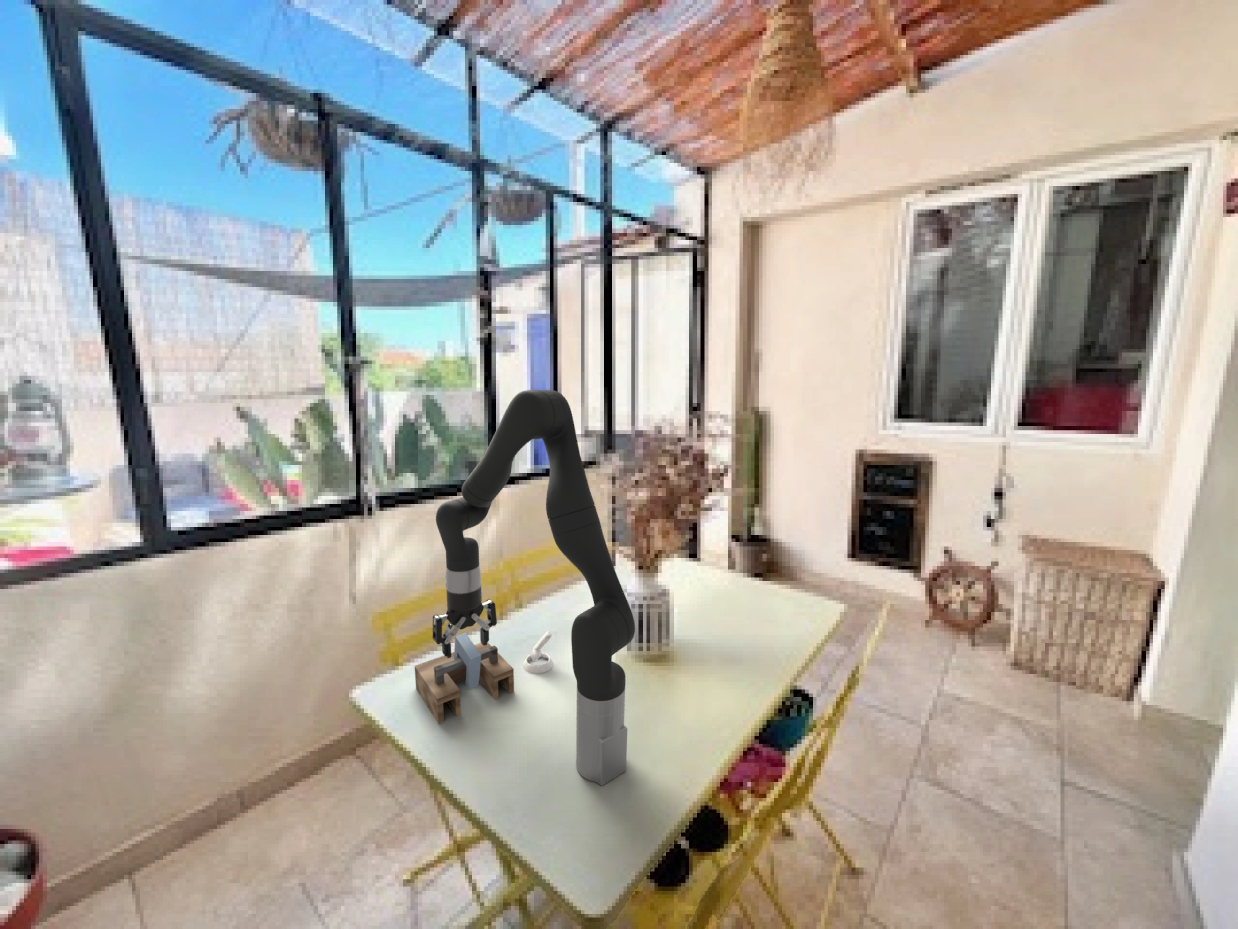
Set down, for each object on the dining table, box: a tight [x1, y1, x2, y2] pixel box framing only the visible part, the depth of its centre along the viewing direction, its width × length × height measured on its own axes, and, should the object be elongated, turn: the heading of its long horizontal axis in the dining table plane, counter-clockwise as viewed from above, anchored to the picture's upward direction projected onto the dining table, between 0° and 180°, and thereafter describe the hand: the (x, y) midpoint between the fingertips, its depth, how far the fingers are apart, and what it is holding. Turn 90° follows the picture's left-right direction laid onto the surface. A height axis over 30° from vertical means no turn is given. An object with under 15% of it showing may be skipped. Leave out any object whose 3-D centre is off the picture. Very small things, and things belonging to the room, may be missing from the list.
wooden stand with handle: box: [414, 642, 515, 725], centre depth 119 cm, size 15×18×10 cm
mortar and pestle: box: [522, 630, 554, 675], centre depth 130 cm, size 8×12×7 cm
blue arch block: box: [453, 632, 481, 690], centre depth 117 cm, size 8×2×9 cm, turn 40°
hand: (466, 650), depth 116 cm, fingers open, 8 cm apart
